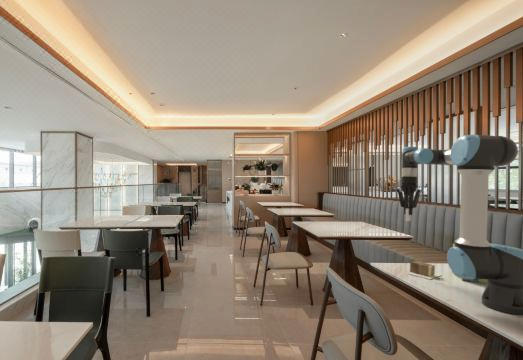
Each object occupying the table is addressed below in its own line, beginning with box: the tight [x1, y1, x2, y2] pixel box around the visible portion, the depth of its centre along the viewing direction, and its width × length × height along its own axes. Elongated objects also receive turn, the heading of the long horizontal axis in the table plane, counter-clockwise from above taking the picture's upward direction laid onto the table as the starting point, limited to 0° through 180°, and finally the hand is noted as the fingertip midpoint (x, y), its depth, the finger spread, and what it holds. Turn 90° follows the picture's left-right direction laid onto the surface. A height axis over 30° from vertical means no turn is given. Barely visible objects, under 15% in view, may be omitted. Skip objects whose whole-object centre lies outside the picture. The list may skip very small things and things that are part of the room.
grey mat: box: [407, 272, 442, 280], centre depth 165 cm, size 12×11×1 cm
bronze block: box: [409, 260, 436, 277], centre depth 166 cm, size 5×5×10 cm
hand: (408, 220), depth 172 cm, fingers closed
